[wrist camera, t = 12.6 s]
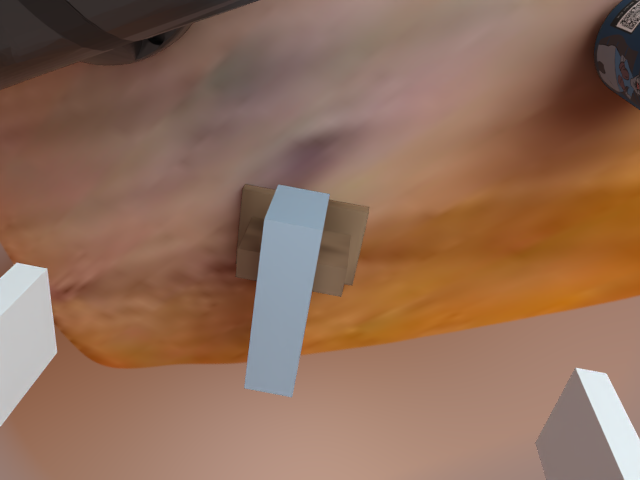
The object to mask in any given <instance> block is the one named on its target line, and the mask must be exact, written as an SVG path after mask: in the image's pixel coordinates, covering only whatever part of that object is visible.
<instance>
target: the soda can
mask: <svg viewBox="0 0 640 480" xmlns="http://www.w3.org/2000/svg"><path fill="white" fill-rule="evenodd" d="M594 61H595V66H596V70H597V73H598V75H599V77H600V78H601V80H602V81H603V83H604V84H605V85H606V86H607V87H608V88H609V89H611V90H612V91H613V92H615V93H616V94H618V95H619V96H621V97H622V98H623V99H625V100H626V101H628V102H629V103H630V104H632V105H633V106H635V107H636V108H638V109H639V110H640V0H623V1H621V2H620V3H619V4H618V5H617V6H616V7H615V8H614V9H613V10H612V11H611V13H610V14H609V15H608V17H607V18H606V20H605V21H604V23H603V25H602V26H601V28H600V31H599V33H598V36H597V39H596V43H595V49H594Z"/></svg>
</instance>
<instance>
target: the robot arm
mask: <svg viewBox="0 0 640 480" xmlns="http://www.w3.org/2000/svg"><path fill="white" fill-rule="evenodd" d="M256 1H259V0H0V90H2V89H4V88H7V87H10V86H12V85H15V84H18V83H20V82H23V81H26V80H28V79H31V78H34V77H37V76H40V75H42V74H45V73H48V72H51V71H54V70H56V69H59V68H62V67H65V66H68V65H70V64H73V63H76V62H79V61H80V62H85V63H89V64H96V65H122V64H128V63H133V62H137V61H140V60H143V59H146V58H148V57H150V56H152V55H154V54H156V53H158V52H160V51H161V50H163V49H165V48H167V47H168V46H170V45H171V44H173V43H174V42H175V41H176V40H178V39H179V38H180V37H181V36H182V35H183V34H184V33H185V32H186V31H187V30H188V28H189V27H190V26H191V25H192V23H194V22H197V21H200V20H203V19H206V18H209V17H212V16H215V15H218V14H221V13H224V12H227V11H229V10H232V9H235V8H238V7H241V6H244V5H247V4H250V3H253V2H256ZM56 353H57V347H56V338H55V329H54V321H53V313H52V304H51V296H50V287H49V279H48V271H47V268H42V267H36V266H31V265H26V264H20V263H16V264H15V265H14V266H13V267H12V268H10V270H8V271H7V272H6V273H5V274H4V275H3V276H2V277H1V278H0V426H1V425H2V424H3V422H4V421H5V420H6V419H7V417H8V416H9V414H10V413H11V412H12V411H13V409H14V408H15V407H16V406H17V404H18V403H19V402H20V400H21V399H22V398H23V396H24V395H25V394H26V393H27V391H28V390H29V389H30V387H31V385H32V384H33V383H34V382H35V381H36V379H37V378H38V377H39V376H40V374H41V373H42V372H43V370H44V369H45V368H46V366H47V365H48V364H49V362H50V361H51V360H52V358H53V357H54V356H55V354H56ZM536 447H537V450H538V453H539V457H540V460H541V463H542V467H543V470H544V474H545V477H546V480H640V439H639V437H638V436H637V434H636V432H635V430H634V428H633V426H632V424H631V422H630V420H629V418H628V416H627V414H626V412H625V410H624V408H623V406H622V404H621V402H620V400H619V398H618V396H617V394H616V392H615V390H614V388H613V386H612V384H611V382H610V380H609V378H608V376H607V374H606V373H601V372H596V371H590V370H584V369H580V368H575V369H574V371H573V373H572V375H571V377H570V379H569V381H568V382H567V384H566V386H565V388H564V390H563V392H562V394H561V396H560V397H559V399H558V402H557V403H556V405H555V407H554V409H553V411H552V412H551V414H550V416H549V418H548V420H547V422H546V424H545V426H544V427H543V429H542V431H541V433H540V435H539V437H538V439H537V441H536Z"/></svg>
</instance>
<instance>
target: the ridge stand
mask: <svg viewBox="0 0 640 480" xmlns="http://www.w3.org/2000/svg"><path fill="white" fill-rule="evenodd" d="M275 192H276V190H274V189H268V188H263V187H258V186H252V185H247V184H245V186H244V188H243V191H242V201H241V212H240V223H239V234H238V245H237V255H236V264H237V268H236V277H238V278H244V279H249V280H254V281H257V277H258V268H259V260H260V251H261V243H262V235H263V226H264V219H265V216H266V214H267V211H268V209H269V206H270V204H271V201H272V199H273V197H274V194H275ZM368 214H369V207H365V206H360V205H354V204H349V203H344V202H338V201H333V200H329V201H328V206H327V212H326V217H325V223H324V228H323V234H322V239H321V245H320V250H319V256H318V261H317V266H316V272H315V277H314V283H313V288H312V291H313V292H318V293H324V294H329V295H334V296H340V297H341V296H342V291H343V287H344V284H347V285H352V284H353V280H354V276H355V271H356V267H357V262H358V258H359V254H360V249H361V245H362V241H363V236H364V232H365V227H366V223H367V219H368Z"/></svg>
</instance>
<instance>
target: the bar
mask: <svg viewBox="0 0 640 480" xmlns="http://www.w3.org/2000/svg"><path fill="white" fill-rule="evenodd" d="M329 196H330V194H326V193H321V192H315V191H310V190H305V189H299V188H294V187H288V186H283V185H278V187H277V189H276V192H275V194H274V197H273V199H272V201H271V204H270V206H269V209H268V211H267V214H266V216H265V219H264V226H263V235H262V243H261V251H260V260H259V268H258V277H257V285H256V293H255V302H254V310H253V319H252V327H251V336H250V344H249V352H248V361H247V370H246V379H245V387H244V388H246V389H252V390H257V391H262V392H267V393H273V394H278V395H283V396H288V397H292V395H293V390H294V385H295V379H296V374H297V369H298V364H299V358H300V353H301V348H302V343H303V337H304V332H305V326H306V321H307V315H308V310H309V305H310V299H311V294H312V288H313V283H314V277H315V272H316V266H317V261H318V256H319V250H320V245H321V239H322V234H323V228H324V223H325V217H326V212H327V206H328V201H329Z"/></svg>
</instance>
